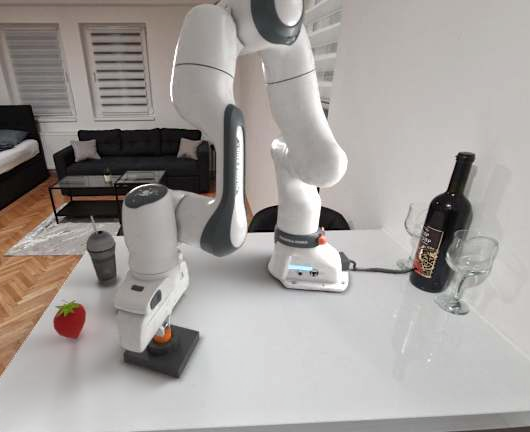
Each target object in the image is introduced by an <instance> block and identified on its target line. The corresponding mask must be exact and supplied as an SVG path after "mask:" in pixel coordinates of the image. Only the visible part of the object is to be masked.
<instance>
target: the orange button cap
mask: <svg viewBox="0 0 530 432" xmlns="http://www.w3.org/2000/svg"><path fill="white" fill-rule="evenodd" d="M170 339H171V329H170V327H169V329H168V330H167V332H166V333H165V335H164V336H163V337H159V336H156V334H155V335H154V336H153V340H154V342H155V343H158V344H162V343H166V342H168V341H169V340H170Z"/></svg>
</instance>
